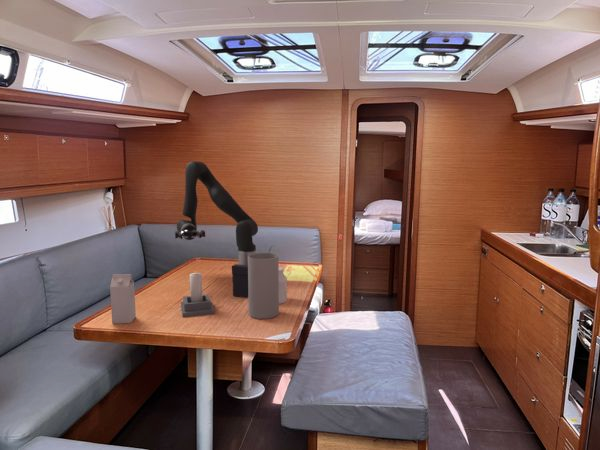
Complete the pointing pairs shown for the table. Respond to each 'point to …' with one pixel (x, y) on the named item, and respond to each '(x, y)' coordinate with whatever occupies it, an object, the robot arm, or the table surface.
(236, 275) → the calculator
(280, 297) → the jar
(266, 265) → the cylinder vase
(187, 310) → the roll holder
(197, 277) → the paper roll
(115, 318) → the milk carton
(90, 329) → the table surface
